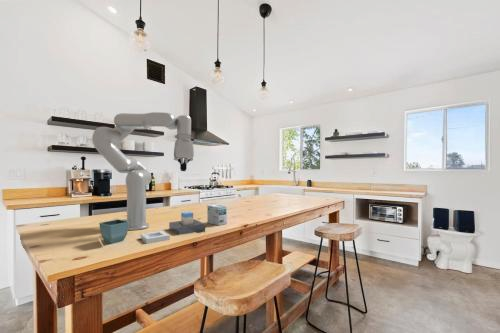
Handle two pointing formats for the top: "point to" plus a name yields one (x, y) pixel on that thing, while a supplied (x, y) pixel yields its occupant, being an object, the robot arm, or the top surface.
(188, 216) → the plug
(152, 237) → the grey base plate
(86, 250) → the top surface
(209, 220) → the light bulb box
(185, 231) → the port block
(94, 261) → the top surface
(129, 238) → the top surface
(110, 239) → the flower pot
